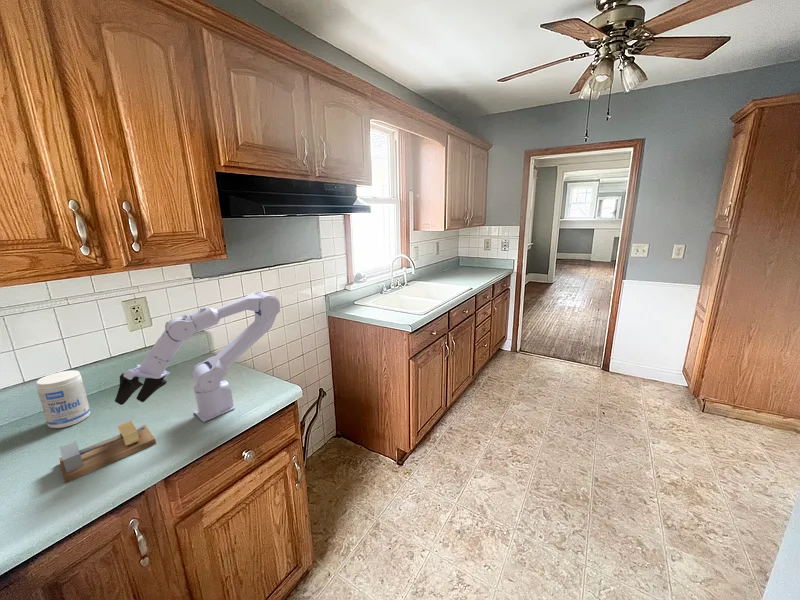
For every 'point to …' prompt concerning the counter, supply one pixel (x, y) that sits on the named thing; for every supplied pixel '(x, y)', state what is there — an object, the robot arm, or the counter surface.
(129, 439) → the nut
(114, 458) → the base
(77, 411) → the supplement tub
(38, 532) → the counter surface
